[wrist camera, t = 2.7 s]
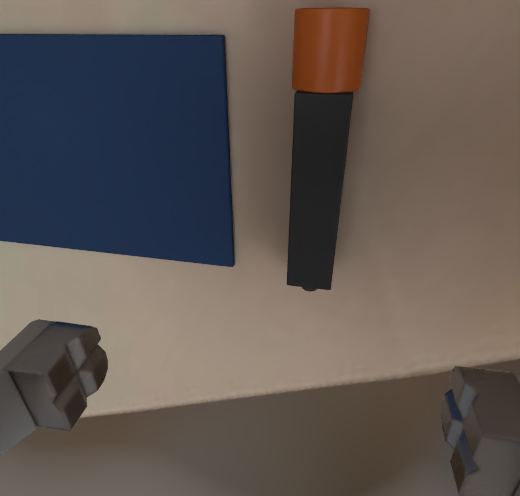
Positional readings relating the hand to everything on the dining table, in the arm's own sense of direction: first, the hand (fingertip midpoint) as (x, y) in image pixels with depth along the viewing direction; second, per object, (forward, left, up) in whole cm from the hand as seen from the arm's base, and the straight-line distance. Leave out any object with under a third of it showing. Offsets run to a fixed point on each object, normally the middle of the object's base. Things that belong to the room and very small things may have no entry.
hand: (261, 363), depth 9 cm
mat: (+15, 0, -14) cm, 20 cm away
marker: (0, 0, -14) cm, 14 cm away
